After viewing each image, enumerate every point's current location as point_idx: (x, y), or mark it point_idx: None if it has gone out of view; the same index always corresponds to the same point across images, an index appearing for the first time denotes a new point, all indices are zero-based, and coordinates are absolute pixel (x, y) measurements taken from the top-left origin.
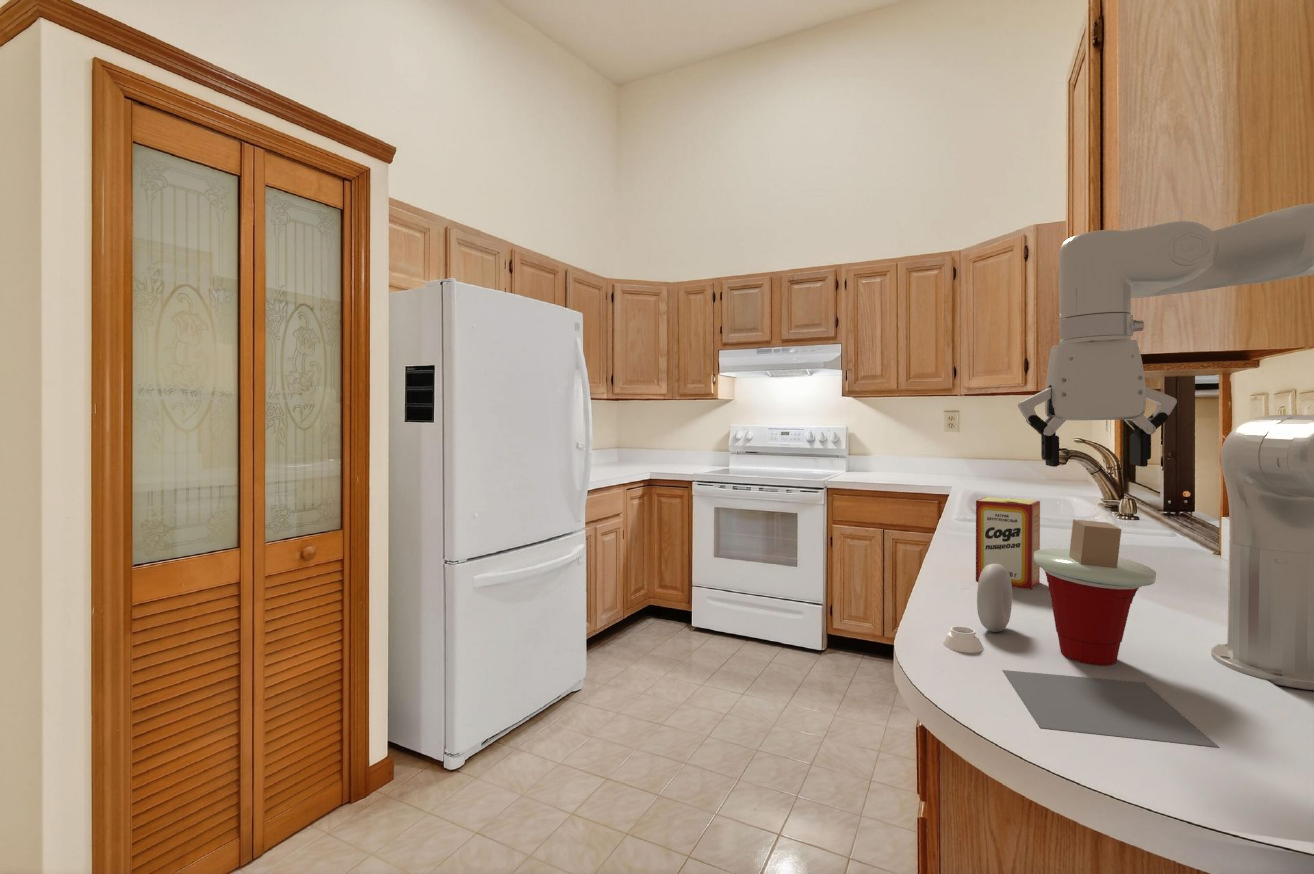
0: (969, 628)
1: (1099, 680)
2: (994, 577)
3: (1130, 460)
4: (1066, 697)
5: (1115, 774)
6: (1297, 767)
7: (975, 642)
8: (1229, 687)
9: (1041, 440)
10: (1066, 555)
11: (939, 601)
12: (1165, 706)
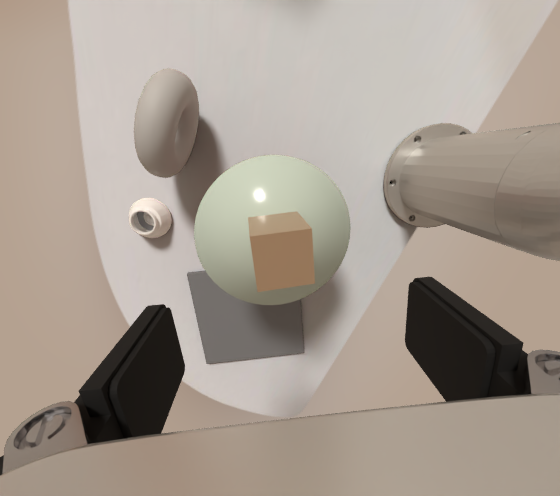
0: (149, 214)
1: None
2: (155, 160)
3: (416, 288)
4: (230, 313)
5: (240, 389)
6: (337, 351)
7: (159, 231)
8: (364, 236)
9: (80, 399)
10: (244, 213)
11: None
12: (295, 305)
